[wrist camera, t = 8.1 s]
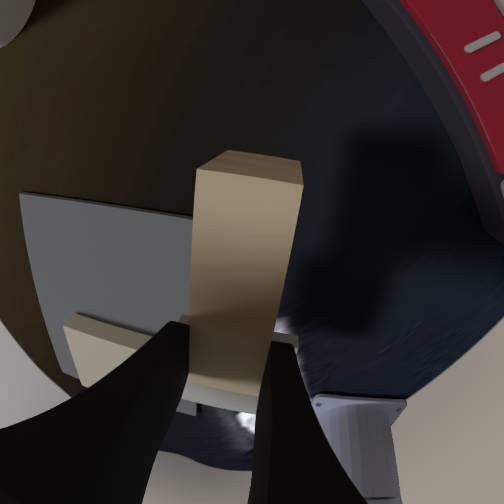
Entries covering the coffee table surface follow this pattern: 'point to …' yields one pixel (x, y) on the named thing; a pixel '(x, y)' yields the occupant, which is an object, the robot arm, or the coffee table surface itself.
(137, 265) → the mat
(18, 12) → the candle
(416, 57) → the calculator
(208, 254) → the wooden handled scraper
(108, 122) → the coffee table surface
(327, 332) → the coffee table surface
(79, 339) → the tile
